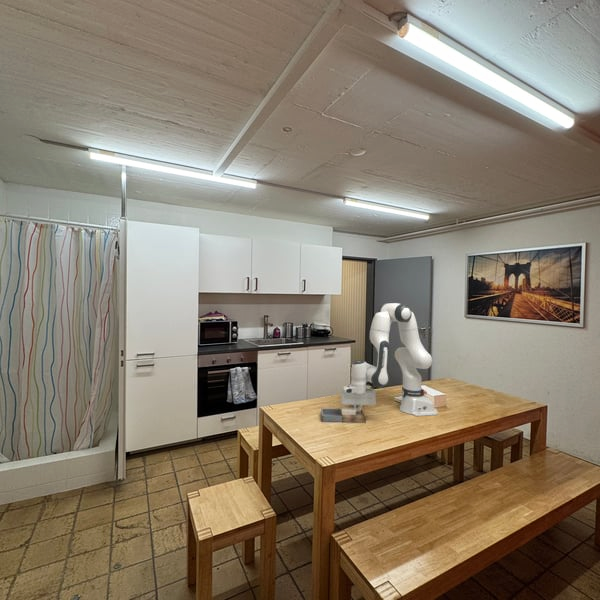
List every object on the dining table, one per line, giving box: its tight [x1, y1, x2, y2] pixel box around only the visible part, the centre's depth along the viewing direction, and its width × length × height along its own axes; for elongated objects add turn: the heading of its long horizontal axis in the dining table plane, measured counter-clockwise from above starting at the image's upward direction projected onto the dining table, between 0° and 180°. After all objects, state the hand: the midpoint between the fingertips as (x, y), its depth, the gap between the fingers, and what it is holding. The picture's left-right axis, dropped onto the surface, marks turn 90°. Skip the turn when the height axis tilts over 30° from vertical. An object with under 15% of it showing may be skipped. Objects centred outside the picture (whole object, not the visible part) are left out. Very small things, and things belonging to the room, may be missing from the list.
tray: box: [320, 408, 343, 423], centre depth 182 cm, size 11×11×4 cm
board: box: [339, 408, 367, 424], centre depth 182 cm, size 13×12×3 cm
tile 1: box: [340, 407, 349, 415], centre depth 182 cm, size 4×4×2 cm
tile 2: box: [347, 407, 356, 415], centre depth 182 cm, size 4×4×2 cm
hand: (357, 411), depth 182 cm, fingers closed
